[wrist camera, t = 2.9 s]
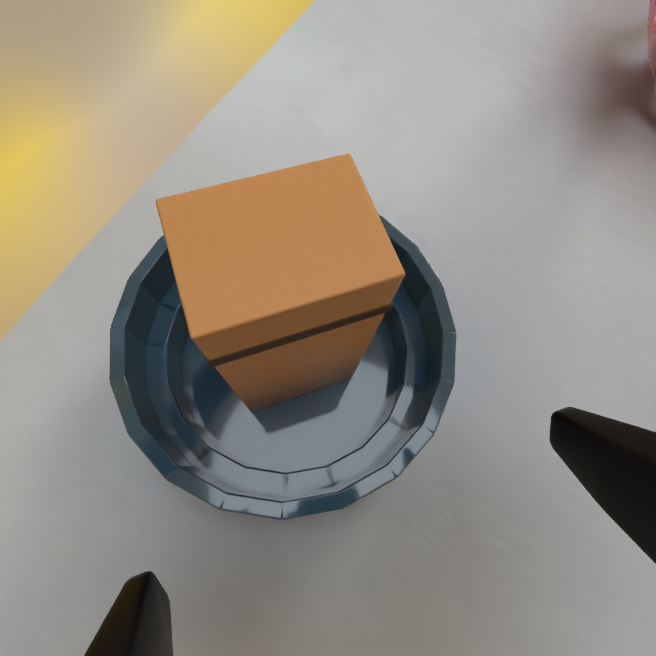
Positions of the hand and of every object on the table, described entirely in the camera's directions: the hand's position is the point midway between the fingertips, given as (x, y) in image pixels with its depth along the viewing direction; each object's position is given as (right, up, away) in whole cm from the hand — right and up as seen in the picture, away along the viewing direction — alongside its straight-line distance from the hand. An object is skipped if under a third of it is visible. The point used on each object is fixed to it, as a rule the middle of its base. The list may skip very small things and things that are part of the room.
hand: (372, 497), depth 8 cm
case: (-3, +2, +12) cm, 13 cm away
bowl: (-3, +2, +13) cm, 14 cm away
